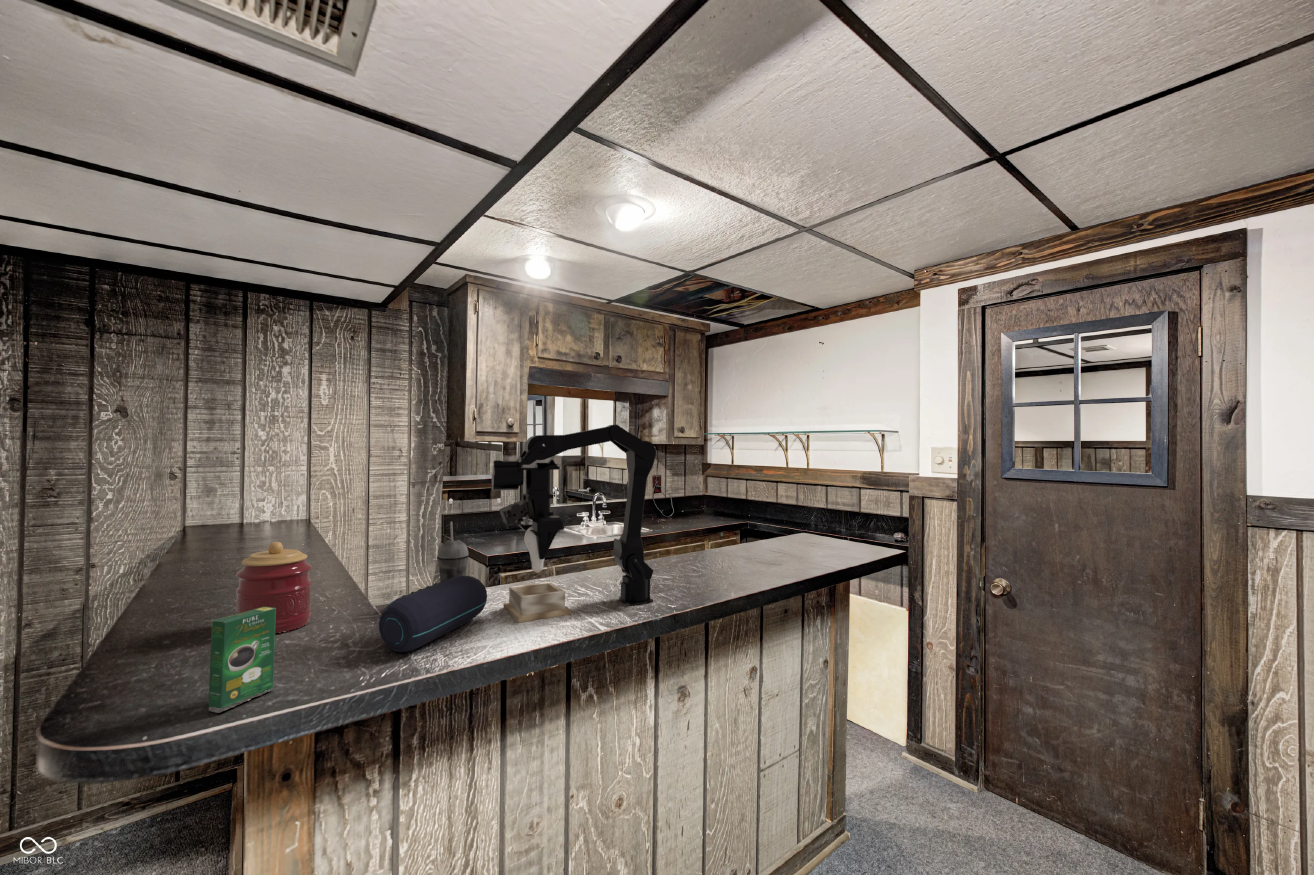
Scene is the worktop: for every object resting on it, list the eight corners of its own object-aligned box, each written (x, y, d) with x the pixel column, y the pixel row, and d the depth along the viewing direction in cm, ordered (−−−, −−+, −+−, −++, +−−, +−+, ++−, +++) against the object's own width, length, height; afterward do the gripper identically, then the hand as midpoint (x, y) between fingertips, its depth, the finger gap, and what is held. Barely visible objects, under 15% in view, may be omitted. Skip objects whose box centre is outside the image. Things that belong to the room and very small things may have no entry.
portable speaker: (453, 614, 123) (453, 570, 123) (492, 618, 121) (492, 573, 121) (367, 655, 99) (367, 600, 99) (413, 661, 97) (414, 605, 97)
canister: (324, 622, 117) (326, 539, 117) (259, 642, 105) (260, 550, 105) (287, 613, 122) (288, 534, 122) (220, 631, 110) (222, 544, 111)
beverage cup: (473, 601, 133) (474, 519, 133) (460, 610, 126) (461, 523, 126) (445, 600, 134) (446, 518, 134) (430, 609, 126) (431, 522, 127)
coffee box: (262, 688, 86) (263, 604, 86) (275, 690, 85) (277, 606, 85) (206, 712, 78) (208, 620, 78) (221, 715, 77) (223, 622, 77)
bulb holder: (552, 600, 134) (552, 580, 134) (570, 614, 124) (570, 592, 124) (503, 607, 128) (503, 586, 128) (518, 622, 118) (518, 599, 118)
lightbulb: (556, 571, 127) (556, 524, 127) (538, 576, 122) (538, 527, 122) (536, 568, 130) (537, 522, 130) (518, 573, 125) (518, 525, 125)
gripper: (492, 487, 130) (492, 553, 130) (515, 494, 114) (514, 569, 114) (538, 485, 136) (537, 548, 136) (565, 492, 120) (565, 563, 120)
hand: (537, 556), depth 126 cm, fingers closed on lightbulb, 5 cm apart
